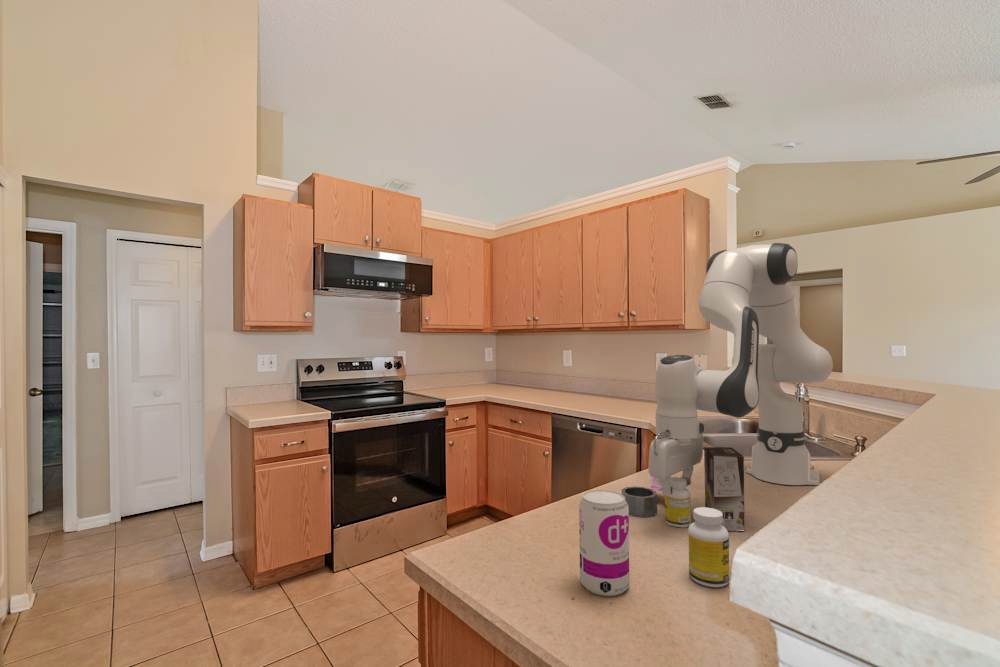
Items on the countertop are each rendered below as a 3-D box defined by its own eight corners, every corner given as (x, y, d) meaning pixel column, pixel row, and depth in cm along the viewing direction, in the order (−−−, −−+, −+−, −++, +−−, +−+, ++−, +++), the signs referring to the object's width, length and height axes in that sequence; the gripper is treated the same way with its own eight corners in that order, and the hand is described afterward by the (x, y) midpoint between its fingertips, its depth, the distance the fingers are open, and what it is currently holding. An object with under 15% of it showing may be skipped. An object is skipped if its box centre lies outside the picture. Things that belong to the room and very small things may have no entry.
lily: (654, 493, 130) (637, 463, 130) (695, 483, 124) (678, 451, 123) (647, 521, 120) (628, 489, 119) (692, 512, 114) (673, 478, 113)
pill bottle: (722, 593, 78) (721, 522, 78) (682, 580, 82) (681, 512, 82) (735, 578, 82) (734, 511, 82) (697, 566, 87) (696, 502, 87)
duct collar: (632, 502, 120) (632, 484, 120) (662, 510, 114) (662, 491, 114) (615, 511, 114) (615, 492, 114) (646, 519, 109) (646, 500, 109)
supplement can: (639, 593, 78) (638, 501, 78) (594, 601, 76) (592, 507, 76) (613, 570, 86) (612, 486, 86) (572, 577, 83) (571, 491, 84)
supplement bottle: (669, 516, 110) (668, 474, 111) (693, 521, 107) (692, 478, 107) (662, 524, 106) (661, 480, 106) (687, 530, 103) (686, 484, 103)
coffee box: (746, 532, 101) (745, 456, 101) (713, 530, 103) (712, 455, 103) (734, 516, 110) (733, 446, 110) (704, 514, 112) (703, 445, 112)
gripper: (669, 436, 97) (669, 504, 97) (708, 423, 112) (708, 483, 111) (640, 432, 101) (640, 497, 101) (681, 420, 116) (682, 477, 116)
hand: (676, 489), depth 106 cm, fingers open, 8 cm apart
